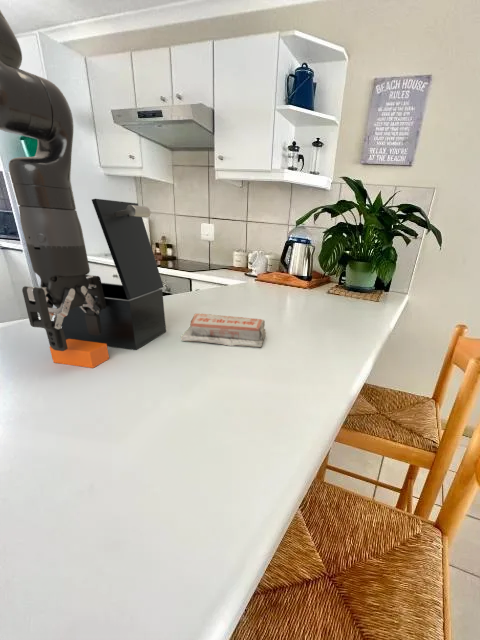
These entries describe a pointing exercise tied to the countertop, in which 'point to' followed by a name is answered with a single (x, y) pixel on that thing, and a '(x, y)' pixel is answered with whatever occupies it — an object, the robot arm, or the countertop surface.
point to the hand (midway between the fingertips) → (79, 341)
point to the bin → (121, 319)
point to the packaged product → (225, 330)
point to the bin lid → (129, 245)
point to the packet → (81, 353)
